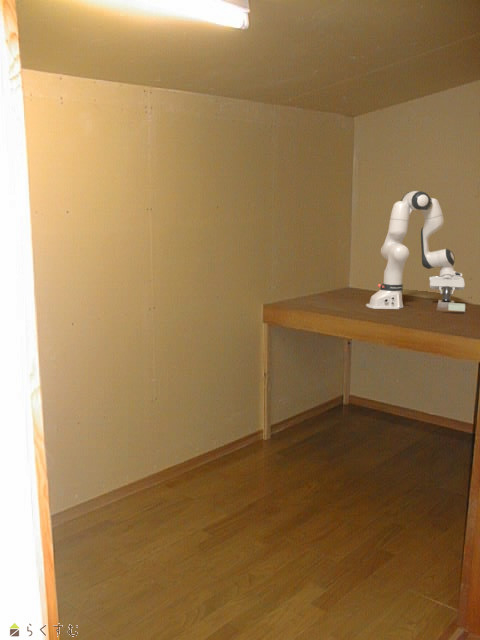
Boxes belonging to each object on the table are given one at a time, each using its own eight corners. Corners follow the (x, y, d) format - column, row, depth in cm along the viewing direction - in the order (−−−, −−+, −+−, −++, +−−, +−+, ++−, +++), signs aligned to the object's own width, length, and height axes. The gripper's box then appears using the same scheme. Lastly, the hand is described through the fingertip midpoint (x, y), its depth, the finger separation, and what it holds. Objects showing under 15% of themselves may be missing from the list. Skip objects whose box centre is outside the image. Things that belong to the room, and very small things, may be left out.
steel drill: (444, 306, 356) (445, 287, 354) (441, 305, 360) (442, 286, 357) (450, 306, 356) (452, 286, 354) (447, 305, 360) (448, 286, 358)
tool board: (465, 314, 340) (465, 311, 340) (436, 312, 345) (436, 309, 345) (464, 308, 360) (464, 305, 360) (437, 306, 366) (437, 304, 365)
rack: (464, 311, 341) (465, 306, 341) (448, 310, 344) (448, 305, 344) (464, 308, 350) (464, 303, 349) (448, 307, 352) (448, 302, 352)
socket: (453, 307, 352) (454, 302, 352) (437, 306, 355) (438, 302, 355) (453, 305, 361) (454, 300, 360) (438, 304, 364) (438, 299, 363)
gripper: (429, 272, 364) (429, 290, 356) (465, 273, 358) (465, 291, 351) (429, 278, 369) (428, 296, 361) (463, 280, 363) (463, 298, 356)
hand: (446, 294), depth 356 cm, fingers closed on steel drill, 4 cm apart
